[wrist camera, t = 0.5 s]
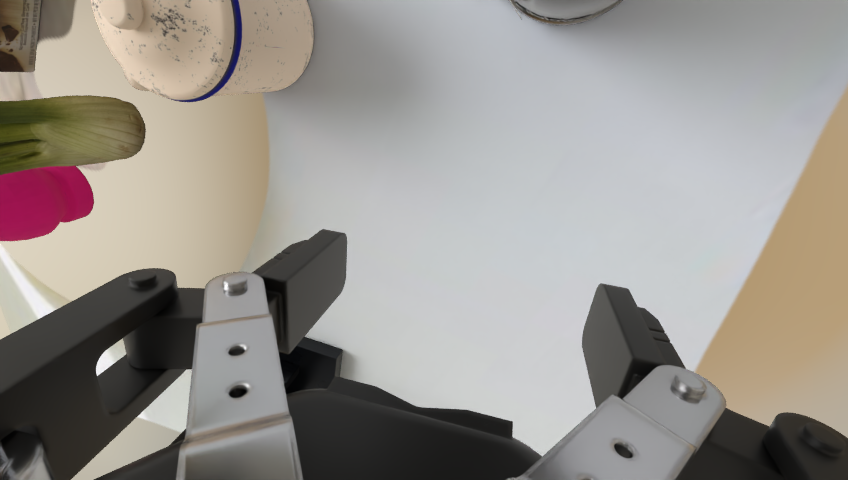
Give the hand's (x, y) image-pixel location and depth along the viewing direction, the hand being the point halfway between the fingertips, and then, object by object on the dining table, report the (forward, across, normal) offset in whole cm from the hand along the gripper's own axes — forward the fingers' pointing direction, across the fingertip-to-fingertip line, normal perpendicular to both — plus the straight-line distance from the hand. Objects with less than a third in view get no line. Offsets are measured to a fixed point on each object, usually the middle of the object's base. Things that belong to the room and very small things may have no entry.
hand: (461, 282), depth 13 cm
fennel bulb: (+19, +32, +1) cm, 37 cm away
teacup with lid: (+18, +20, -7) cm, 28 cm away
